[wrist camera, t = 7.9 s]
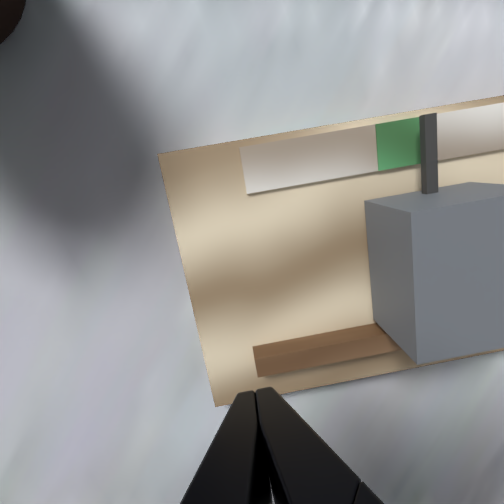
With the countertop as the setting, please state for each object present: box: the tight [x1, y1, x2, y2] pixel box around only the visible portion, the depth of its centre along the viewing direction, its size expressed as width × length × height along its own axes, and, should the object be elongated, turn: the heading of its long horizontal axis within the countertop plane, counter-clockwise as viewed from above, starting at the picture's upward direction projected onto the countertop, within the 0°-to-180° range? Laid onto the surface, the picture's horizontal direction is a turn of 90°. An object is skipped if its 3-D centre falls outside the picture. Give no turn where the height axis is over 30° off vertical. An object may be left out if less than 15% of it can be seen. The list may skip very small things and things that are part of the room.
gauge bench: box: [157, 95, 504, 407], centre depth 14 cm, size 13×25×8 cm, turn 99°
